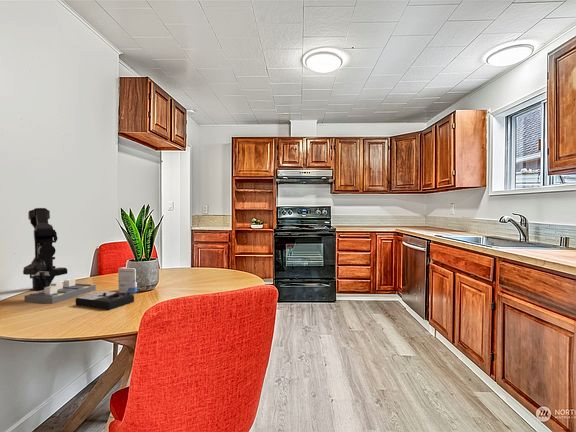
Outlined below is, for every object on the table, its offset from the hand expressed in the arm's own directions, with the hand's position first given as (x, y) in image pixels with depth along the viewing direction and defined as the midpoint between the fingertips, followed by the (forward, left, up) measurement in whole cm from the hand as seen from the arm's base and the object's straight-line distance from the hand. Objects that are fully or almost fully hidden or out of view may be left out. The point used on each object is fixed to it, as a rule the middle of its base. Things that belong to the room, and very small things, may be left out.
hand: (45, 290), depth 154 cm
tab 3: (-2, +14, -1) cm, 14 cm away
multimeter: (+31, 0, -5) cm, 32 cm away
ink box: (+27, +20, -4) cm, 34 cm away
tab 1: (+3, 0, -1) cm, 3 cm away
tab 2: (-2, +7, -1) cm, 7 cm away
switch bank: (+1, +7, -4) cm, 8 cm away
